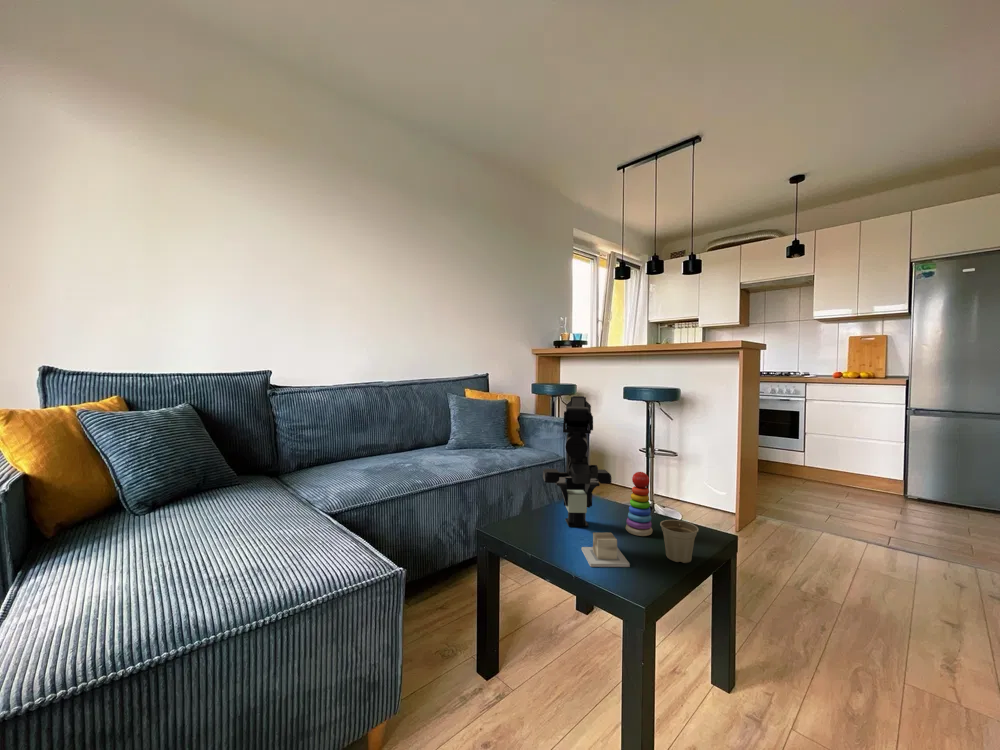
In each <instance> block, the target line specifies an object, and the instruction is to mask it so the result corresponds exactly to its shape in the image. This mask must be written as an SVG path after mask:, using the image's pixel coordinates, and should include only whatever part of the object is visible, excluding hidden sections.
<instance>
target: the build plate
mask: <svg viewBox="0 0 1000 750" xmlns="http://www.w3.org/2000/svg"><path fill="white" fill-rule="evenodd" d="M581 551H582V553H583V556H584V557H585V559H586V561H587V563H588V565H589V566H590V568H598V567H599V568H630V567H631V566H630V565H631V563H630V562H629V561H628V560H627V558H626V557H625V555H624V554H623V553H622V552H621V550H620V549H619V547H617V559H597V557H596V555H595V554H594V552H593V546H582V547H581Z"/></svg>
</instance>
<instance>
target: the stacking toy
mask: <svg viewBox="0 0 1000 750" xmlns="http://www.w3.org/2000/svg"><path fill="white" fill-rule="evenodd" d="M631 478H632V484H633V485H634V486H633V487H632V488H631V492H632V493H631V494H630V501H629V505H630V506H629V507H628V513H627V518H626V525H625V530H626V531H627V532H628V533H629V534H631V535H634V536H639V537H647V536H650V535H652V534H653V531H654V530H653V528H652V524H653V523H652V515H651V513H652V511H651V508H650V507H651V503H650V496H649V493H650V490H649V488H648V486H649V485H650V477H649V476H648V474H647V473H646V472H643V471H636V472H635V473H634V474H633V475H632V477H631Z"/></svg>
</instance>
